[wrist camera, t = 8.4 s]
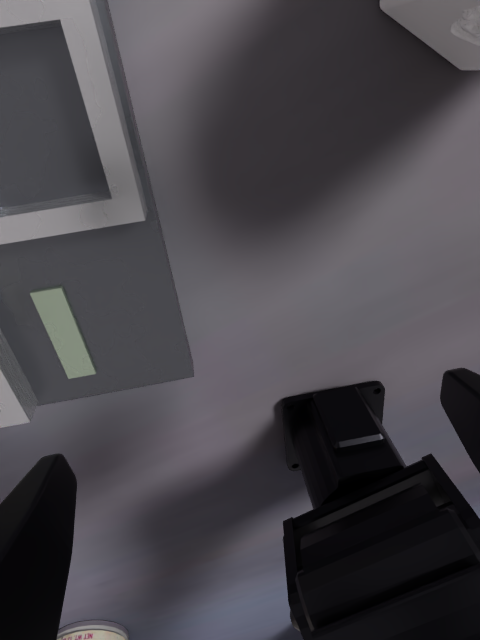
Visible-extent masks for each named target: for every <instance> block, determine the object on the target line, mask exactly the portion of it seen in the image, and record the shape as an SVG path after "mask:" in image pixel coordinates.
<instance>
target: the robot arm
mask: <svg viewBox="0 0 480 640" xmlns="http://www.w3.org/2000/svg"><path fill="white" fill-rule="evenodd" d="M375 389H376V390H375ZM384 394H385V388H384V386H383V385H382V383H381V382H379V381H373V382H367V383H362V384H357V385H352V386H346V387H341V388H336V389H331V390H325V391H320V392H315V393H310V394H304V395H299V396H294V397H289V398H286V399H284V400H283V401H282V404H281V407H282V417H283V428H284V438H285V448H286V458H287V465H288V468H289V469H290V470H291V471H297V470H301V472H302V475H303V478H304V481H305V484H306V487H307V491H308V494H309V497H310V500H311V503H312V506H313V510H311V511H309V512H307V513H304V514H302V515H300V516H298V517H296V518H292V517H291V518H289V519H287V520H285V521H283V528H284V536H283V542H284V554H285V566H286V578H287V590H288V601H289V606H290V618H291V622H292V624H293V626H294V628H296V629H297V630H299V631H300V632H301V634H302V636H303V639H304V640H480V519H479V518H478V516H477V515H476V513H475V512H474V510H473V509H472V508H471V506H470V505H469V504H468V502H467V501H466V500H465V498H464V497H463V496H462V494H461V493H460V492H459V490H458V489H457V487H456V486H455V485H454V483H453V482H452V481H451V479H450V478H449V477H448V475H447V474H446V473H445V471H444V470H443V469H442V467H441V466H440V465H439V463H438V462H437V461H436V459H435V458H434V457H433V455H432V454H429V455H426V456H424V457H422V460H420V461H418V462H416V463H414V464H411V465H409V466H407V467H406V465H405V463H404V461H403V460H402V458H401V456H400V455H399V453H398V451H397V449H396V448H395V446H394V444H393V443H392V441H391V439H390V438H389V436H388V434H387V432H386V431H385V429H384V427H383V426H382V418H383V406H384ZM440 400H441V404H442V406H443V408H444V410H445V412H446V414H447V416H448V418H449V420H450V421H451V423H452V425H453V427H454V429H455V431H456V433H457V434H458V436H459V438H460V440H461V442H462V444H463V446H464V447H465V449H466V451H467V453H468V455H469V456H470V458H471V460H472V462H473V463H474V465H475V466H476V468H477V470H478V471H479V473H480V375H479V374H477V373H474V372H472V371H470V370H468V369H465V368H457V369H452V370H448V371H446V372H445V373H444V374H443V380H442V387H441V394H440ZM289 405H292V406H289ZM76 492H77V481H76V477H75V474H74V473H73V471H72V469H71V467H70V466H69V464H68V462H67V460H66V459H65V457H64V456H63V455H62V454H54V455H49V456H45V457H42V458H41V459H40V460H39V461H38V462H37V463H36V464H35V466H34V467H33V468H32V469H31V470H30V471H29V472H28V473H27V475H26V476H25V477H24V478H23V479H22V480H21V481H20V483H19V484H18V485H17V486H16V487H15V488H14V489H13V490H12V492H11V493H10V494H9V495H8V496H7V497H6V498H5V500H4V501H3V502H2V503H1V504H0V640H57V635H58V629H59V624H60V618H61V612H62V607H63V601H64V596H65V590H66V585H67V579H68V573H69V568H70V562H71V555H72V547H73V535H74V520H75V506H76Z"/></svg>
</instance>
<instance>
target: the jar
mask: <svg viewBox="0 0 480 640" xmlns="http://www.w3.org/2000/svg"><path fill="white" fill-rule="evenodd" d="M379 3H380V8H381V10H382V11H383V12H385V13H386V14H387V15H389V16H390V17H391V18H393V19H394V20H395V21H397V22H398V23H399V24H400V25H402V26H403V27H404V28H406V29H407V30H408V31H410V32H411V33H412V34H414V35H415V36H416V37H418V38H419V39H420V40H422V41H423V42H424V43H425V44H427V45H428V46H429V47H431V48H432V49H433V50H435V51H436V52H437V53H439V54H440V55H441V56H443V57H444V58H445V59H447V60H448V61H449V62H450V63H452V64H453V65H454V66H456V67H457V68H458V69H460V70H480V0H380V2H379Z"/></svg>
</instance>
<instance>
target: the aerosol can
mask: <svg viewBox="0 0 480 640" xmlns="http://www.w3.org/2000/svg"><path fill="white" fill-rule="evenodd" d="M57 640H129V634H128V630H127V629H126V628H125V627H123V626H122V625H119V624H117V623H115V622H110V621H105V620H89V621H81V622H76V623H73V624H70V625H67V626H65V627H63V628H61V629H59V630H58V635H57Z"/></svg>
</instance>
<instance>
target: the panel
mask: <svg viewBox="0 0 480 640" xmlns="http://www.w3.org/2000/svg"><path fill="white" fill-rule="evenodd" d="M190 377H194V370H193V361H192V357H191V352H190V348H189V344H188V340H187V335H186V331H185V327H184V323H183V318H182V314H181V310H180V306H179V302H178V297H177V293H176V289H175V285H174V280H173V276H172V272H171V268H170V264H169V259H168V255H167V251H166V247H165V242H164V238H163V234H162V230H161V226H160V221H159V217H158V213H157V209H156V204H155V200H154V196H153V192H152V188H151V183H150V179H149V175H148V171H147V166H146V162H145V158H144V154H143V149H142V145H141V141H140V137H139V133H138V128H137V124H136V120H135V116H134V111H133V107H132V103H131V99H130V95H129V90H128V86H127V82H126V78H125V73H124V69H123V65H122V61H121V57H120V52H119V48H118V44H117V40H116V35H115V31H114V27H113V23H112V19H111V14H110V10H109V6H108V2H107V0H0V428H3V427H8V426H13V425H19V424H24V423H29V422H30V421H31V419H32V417H33V414H34V412H35V409H36V407H37V406H39V405H44V404H50V403H55V402H60V401H66V400H71V399H77V398H82V397H87V396H93V395H98V394H103V393H109V392H114V391H120V390H125V389H130V388H136V387H141V386H147V385H152V384H157V383H163V382H168V381H174V380H179V379H184V378H190Z"/></svg>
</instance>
